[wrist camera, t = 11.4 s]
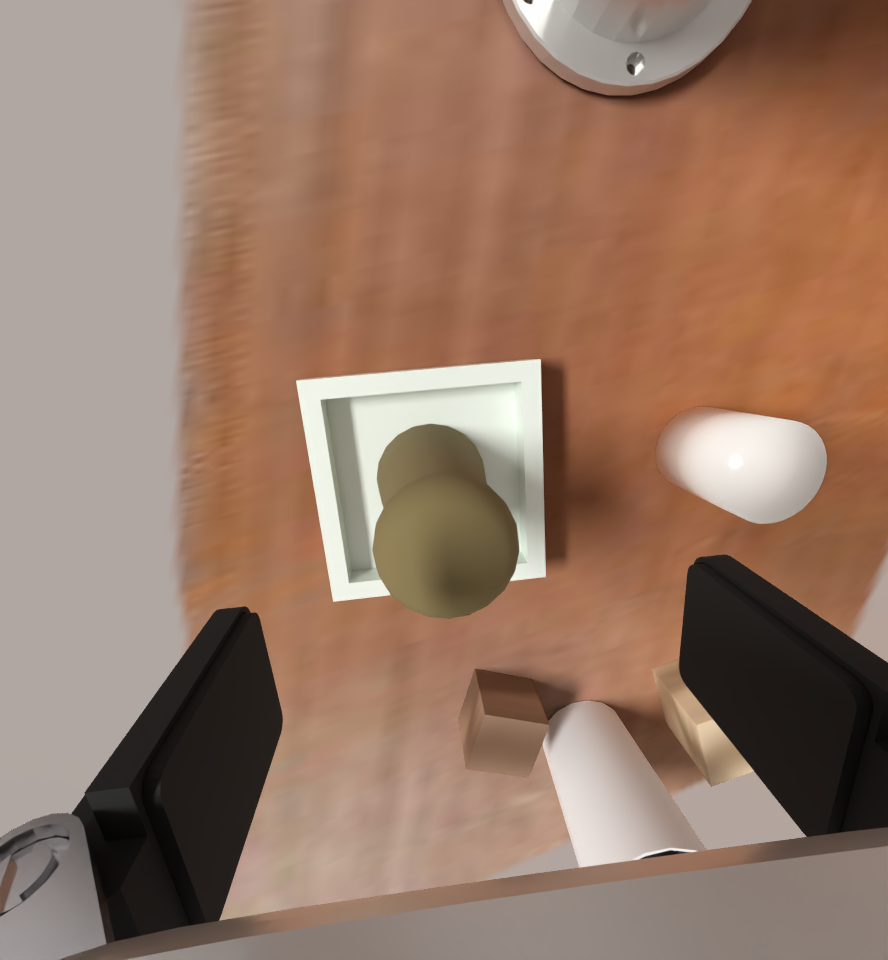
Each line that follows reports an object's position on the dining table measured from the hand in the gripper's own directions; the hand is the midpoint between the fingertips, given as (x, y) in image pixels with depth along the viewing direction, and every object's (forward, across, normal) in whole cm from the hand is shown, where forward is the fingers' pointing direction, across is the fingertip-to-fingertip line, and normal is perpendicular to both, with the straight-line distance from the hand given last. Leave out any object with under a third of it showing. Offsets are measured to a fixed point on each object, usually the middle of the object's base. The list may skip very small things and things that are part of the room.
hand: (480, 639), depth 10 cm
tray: (+16, +1, +1) cm, 17 cm away
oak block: (+16, -16, +18) cm, 29 cm away
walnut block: (+16, -2, +17) cm, 24 cm away
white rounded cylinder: (+17, -15, +1) cm, 23 cm away
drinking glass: (+16, -8, +21) cm, 28 cm away
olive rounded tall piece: (+16, 0, +1) cm, 16 cm away
